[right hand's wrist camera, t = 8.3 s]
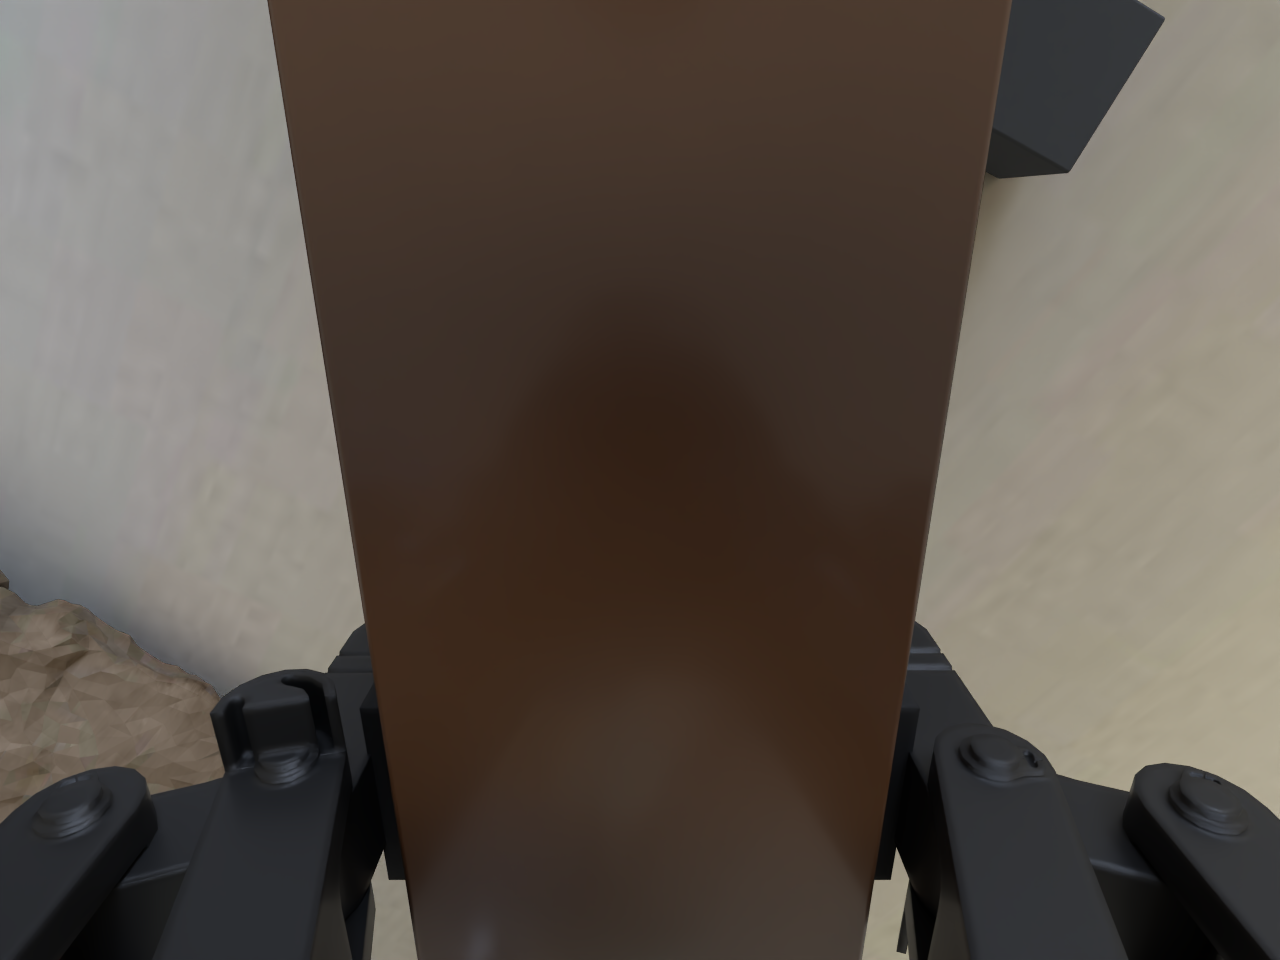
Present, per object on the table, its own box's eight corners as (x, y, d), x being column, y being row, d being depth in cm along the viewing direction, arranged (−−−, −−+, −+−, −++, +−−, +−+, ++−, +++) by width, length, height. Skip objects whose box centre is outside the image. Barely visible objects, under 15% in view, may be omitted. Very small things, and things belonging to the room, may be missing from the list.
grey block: (999, 179, 23) (1069, 174, 19) (893, 121, 22) (944, 103, 19) (1076, 50, 22) (1167, 17, 18) (966, -16, 21) (1037, -64, 17)
